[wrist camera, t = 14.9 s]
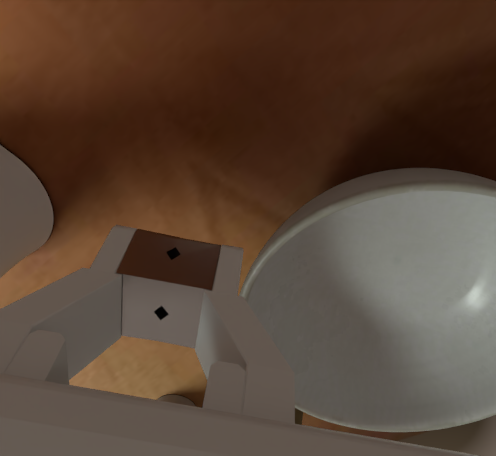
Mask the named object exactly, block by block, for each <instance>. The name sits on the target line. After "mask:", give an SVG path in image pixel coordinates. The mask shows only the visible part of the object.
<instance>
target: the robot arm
mask: <svg viewBox="0 0 496 456" xmlns="http://www.w3.org/2000/svg"><path fill="white" fill-rule="evenodd" d="M52 228H53V209H52V205H51V202H50V199H49V196H48V194H47V192H46V190H45V189H44V187H43V185H42V184H41V182H40V181H39V179H38V178H37V177H36V175H35V174H34V173H33V172H32V171H31V170H30V169H29V168H28V167H27V166H26V165H25V164H24V163H23V162H22V161H21V160H20V159H18V158H17V157H16V156H15V155H13V154H12V153H10V152H9V151H8V150H6V149H5V148H4V147H2V146H1V145H0V278H1V277H2V276H3V275H4V274H5V273H6V272H8V271H9V270H10V269H11V268H12V267H13V266H15V265H16V264H17V263H18V262H20V261H21V260H22V259H23V258H25V257H26V256H28V255H29V254H31V253H32V252H34V251H36V250H37V249H39V248H40V247H41V246H42V245H43V244H44V243H45V242H46V241H47V240H48V238H49V236H50V234H51V231H52ZM220 249H221V251H220ZM219 255H220V256H219ZM242 258H243V248H240V247H234V246H227V245H222V246H221V245H217V244H212V243H206V242H201V241H195V240H190V239H184V238H180V237H175V236H170V235H166V234H161V233H156V232H151V231H146V230H141V229H136V228H131V227H126V226H120V225H115V226H114V227H113V228H112V229H111V231H110V233H109V234H108V236H107V238H106V240H105V242H104V243H103V245H102V247H101V249H100V251H99V252H98V254H97V256H96V258H95V260H94V261H93V263H92V265H91V267H90V269H87V268H81V269H79V270H77V271H75V272H73V273H71V274H69V275H67V276H65V277H63V278H61V279H59V280H57V281H55V282H53V283H51V284H49V285H47V286H46V287H44V288H42V289H40V290H38V291H36V292H34V293H32V294H30V295H28V296H26V297H24V298H22V299H20V300H18V301H16V302H14V303H12V304H10V305H8V306H6V307H4V308H2V309H0V456H479V455H474V454H468V453H462V452H456V451H450V450H444V449H439V448H433V447H426V446H421V445H415V444H409V443H403V442H398V441H392V440H386V439H380V438H375V437H369V436H363V435H357V434H351V433H345V432H340V431H334V430H328V429H322V428H316V427H311V426H305V425H299V424H295V380H294V372H293V370H292V369H291V367H290V366H289V364H288V363H287V361H286V360H285V358H284V357H283V355H282V354H281V352H280V351H279V349H278V348H277V346H276V345H275V343H274V342H273V340H272V339H271V337H270V336H269V334H268V333H267V331H266V330H265V328H264V327H263V325H262V324H261V322H260V321H259V319H258V318H257V316H256V315H255V313H254V312H253V310H252V309H251V307H250V306H249V304H248V303H247V301H246V300H245V298H244V297H241V296H237V294H238V287H239V280H240V272H241V265H242ZM121 335H122V336H128V337H135V338H142V339H149V340H155V341H161V342H166V343H171V344H176V345H181V346H185V347H190V348H195V351H196V354H197V356H198V359H199V361H200V364H201V366H202V369H203V371H204V373H205V376H206V378H207V386H206V391H205V396H204V401H203V406H202V408H200V407H194V406H188V405H183V404H177V403H171V402H165V401H159V400H153V399H148V398H142V397H136V396H130V395H124V394H119V393H113V392H107V391H101V390H95V389H89V388H84V387H78V386H72V385H69V380H70V379H71V378H72V377H73V376H75V375H76V374H77V373H78V372H79V371H81V370H82V369H83V368H84V367H86V366H87V365H88V364H89V363H90V362H92V361H93V360H94V359H95V358H96V357H98V356H99V355H100V354H101V353H103V352H104V351H105V350H106V349H107V348H109V347H110V346H111V345H112V344H113V343H115V342H116V341H117V340H118V339H120V338H121Z"/></svg>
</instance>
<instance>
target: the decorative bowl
mask: <svg viewBox="0 0 496 456" xmlns="http://www.w3.org/2000/svg"><path fill="white" fill-rule="evenodd" d="M239 296H241V297H244V298H245V300H246V301H247V303H248V304H249V306H250V307H251V309H252V310H253V312H254V313H255V315H256V316H257V318H258V319H259V321H260V322H261V324H262V325H263V327H264V328H265V330H266V331H267V333H268V334H269V336H270V337H271V339H272V340H273V342H274V343H275V345H276V346H277V348H278V349H279V351H280V352H281V354H282V355H283V357H284V358H285V360H286V361H287V363H288V364H289V366H290V367H291V369H292V370H293V372H294V380H295V408H297V409H299V410H301V411H303V412H305V413H307V414H309V415H311V416H314V417H316V418H319V419H322V420H325V421H328V422H331V423H335V424H338V425H342V426H347V427H352V428H357V429H364V430H371V431H383V432H417V431H428V430H437V429H443V428H449V427H454V426H459V425H463V424H467V423H471V422H475V421H478V420H482V419H485V418H487V417H491V416H493V415H496V181H494V180H491V179H487V178H484V177H481V176H477V175H473V174H469V173H464V172H459V171H453V170H446V169H436V168H403V169H393V170H386V171H381V172H376V173H371V174H368V175H364V176H360V177H357V178H355V179H352V180H349V181H346V182H344V183H342V184H339V185H337V186H335V187H333V188H331V189H329V190H327V191H325V192H323V193H322V194H320V195H318V196H317V197H315V198H313V199H312V200H311V201H309V202H308V203H306V204H305V205H304V206H302V207H301V208H300V209H299V210H297V211H296V212H295V213H294V214H293V215H291V216H290V217H289V218H288V219H287V220H286V221H285V222H284V223H283V224H282V225H281V226H280V227H279V228H278V230H277V231H276V232H275V233H274V234H273V235H272V237H271V238H270V239H269V240H268V242H267V243H266V244H265V246H264V247H263V249H262V250H261V251H260V253H259V255H258V256H257V258H256V259H255V261H254V263H253V264H252V266H251V268H250V270H249V272H248V274H247V276H246V278H245V281H244V283H243V286H242V289H241V292H240V295H239Z"/></svg>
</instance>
